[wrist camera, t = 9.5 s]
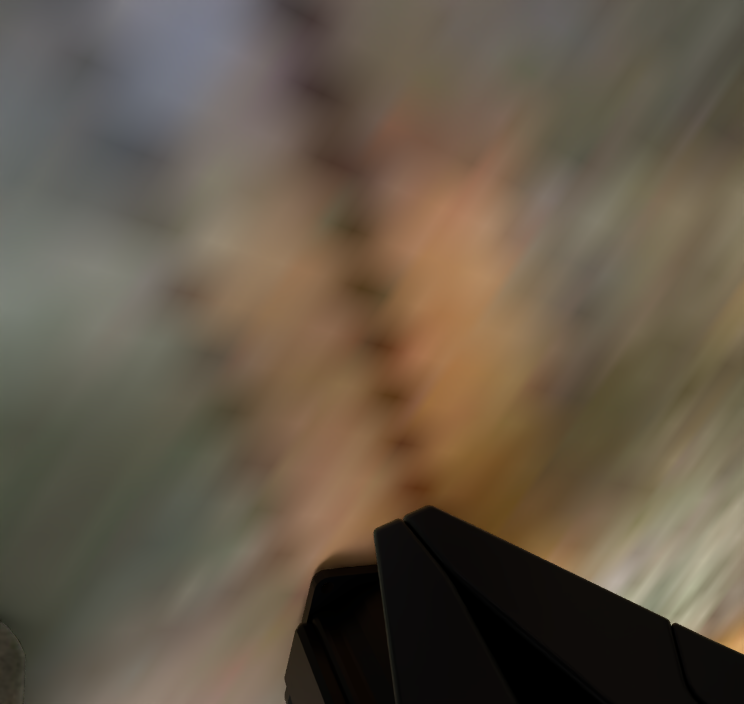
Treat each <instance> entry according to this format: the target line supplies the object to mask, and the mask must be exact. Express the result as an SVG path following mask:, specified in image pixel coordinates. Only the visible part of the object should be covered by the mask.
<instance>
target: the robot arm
mask: <svg viewBox="0 0 744 704" xmlns="http://www.w3.org/2000/svg"><path fill="white" fill-rule="evenodd" d="M374 543H375V550H376V558H377V565H370V566H360V567H349V568H338V569H327V570H323V571H320V572H319V573H317V574H316V575H315V576H314V577H313V579H312V581H311V585H310V589H309V593H308V597H307V602H306V606H305V610H304V614H303V619H302V623H301V624H300V625H299V626H298V628H297V629H296V631H295V635H294V639H293V643H292V648H291V652H290V656H289V661H288V665H287V669H286V674H285V683H286V686H287V687H286V691H285V701H286V704H744V654H741V653H739V652H737V651H735V650H733V649H730V648H728V647H726V646H724V645H722V644H719V643H717V642H715V641H713V640H711V639H708V638H706V637H704V636H702V635H700V634H698V633H696V632H694V631H692V630H690V629H688V628H686V627H684V626H681V625H679V624H677V623H673V624H672V625H671V624H670V621H669V620H668V619H666V618H664V617H662V616H660V615H658V614H656V613H654V612H652V611H650V610H648V609H646V608H644V607H642V606H639V605H637V604H635V603H633V602H631V601H629V600H627V599H625V598H623V597H621V596H619V595H617V594H615V593H613V592H610V591H608V590H606V589H604V588H602V587H600V586H598V585H596V584H594V583H592V582H590V581H588V580H586V579H584V578H582V577H579V576H577V575H575V574H573V573H571V572H569V571H567V570H565V569H563V568H561V567H559V566H557V565H555V564H553V563H550V562H548V561H546V560H544V559H542V558H540V557H538V556H536V555H534V554H532V553H530V552H528V551H526V550H524V549H522V548H519V547H517V546H515V545H513V544H511V543H509V542H507V541H505V540H503V539H501V538H499V537H497V536H495V535H493V534H490V533H488V532H486V531H484V530H482V529H480V528H478V527H476V526H474V525H472V524H470V523H468V522H466V521H464V520H461V519H459V518H457V517H455V516H453V515H451V514H449V513H447V512H445V511H443V510H441V509H439V508H437V507H434V506H430V505H428V506H425V507H422V508H420V509H418V510H416V511H413V512H411V513H409V514H407V515H405V517H404V518H403V520H401V519H395V520H393V521H391V522H389V523H387V524H384V525H382V526H380V527H378V528H376V529H375V530H374ZM328 582H329V583H328ZM325 583H328V584H327V585H325V586H323V585H324V584H325Z"/></svg>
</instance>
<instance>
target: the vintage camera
mask: <svg viewBox="0 0 744 704" xmlns="http://www.w3.org/2000/svg"><path fill="white" fill-rule="evenodd" d="M24 687H25V653H24V651H23V648H22V646H21V644H20V642H19V640H18V639H17V638H16V636H15V635H14V634H13V632H12V631H11V630H10V628H9V627H8V626H6V625H5V624H3V623H1V622H0V704H23V700H24Z"/></svg>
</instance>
